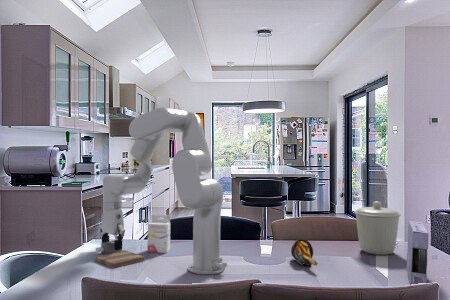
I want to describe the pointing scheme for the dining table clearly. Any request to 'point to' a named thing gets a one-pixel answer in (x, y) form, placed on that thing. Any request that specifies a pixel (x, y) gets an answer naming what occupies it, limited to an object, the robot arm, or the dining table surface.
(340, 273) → the dining table surface
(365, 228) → the canister
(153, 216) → the ink cartridge box
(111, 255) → the walnut board
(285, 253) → the dining table surface
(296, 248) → the fried shrimp in bowl
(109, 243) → the grey double dome block
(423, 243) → the cake pan box
